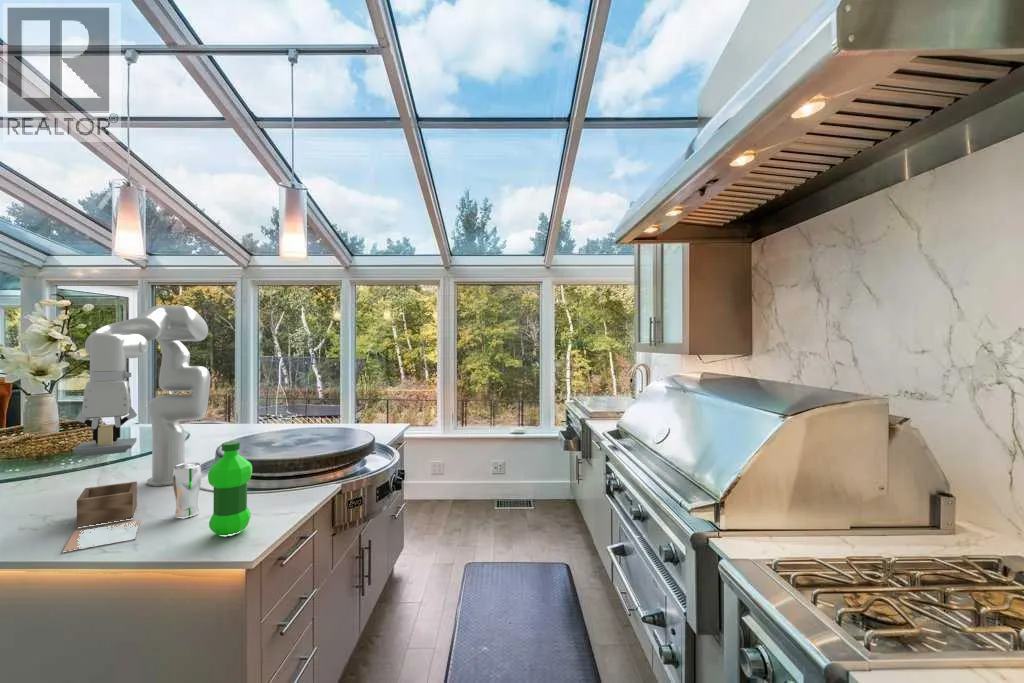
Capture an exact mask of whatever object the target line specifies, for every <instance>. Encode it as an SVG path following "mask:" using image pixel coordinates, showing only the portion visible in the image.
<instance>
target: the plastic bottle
mask: <svg viewBox="0 0 1024 683" xmlns="http://www.w3.org/2000/svg"><path fill="white" fill-rule="evenodd" d="M240 449H241V442H240V441H239V440H232V441H225V442H222V444H221V451H222V452H223V456H221V458H220V459H218V460H217V461H216V462H215V463H214V464H213V465H212V466H211V467H210V468H209V471H208V474H207V480H208V483H209V485H210V486H212V487H213V510H212V511H213V514H212V515H211V517H210V519H209V521H208V522H209V523H208V527H209V529H210V530H211V531H212V532H213V533H215V534H216V535H218V536H219V535H228V534H233V533H237V532H239V531H241V530H243V529H244V530H245V529H246V528H247V527H248V525H249V522H250V520H251V517H252V516H251V515H252V514H251V511H250V509H249V508H248V482H249V481H250V480H251V478H252V474H253V465H252V463H251V462H250V460H249V461H248V460H247V459H246V458H245V457H243V456H241V455H240V454H238V450H240ZM241 532H242V531H241Z"/></svg>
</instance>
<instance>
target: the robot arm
mask: <svg viewBox="0 0 1024 683" xmlns="http://www.w3.org/2000/svg"><path fill="white" fill-rule="evenodd" d="M208 333H209V327H208V324H207V322H206V320H205V319H204V318H203V317H202V315H200V314H199V313H198V312H197V311H196V310H195V309H193V308H192V307H190V306H187V305H166V304H163V305H162V304H159V305H154V306H151V307H150V308H149V309H147V310H145V311H144V312H142V313H141V314H139V315H138V316H137V317H134V318H128V319H126V320H121V321H116V322H113V323H110V324H107V325H102V326H101V327H99V328H98V329H96V330H94V331H92V332H91V334H89V336H87V338H86V340H85V342H84V349H85V351H86V353H87V354H88V355H89V382H88V381H87V382H86V384H85V388H84V392H83V399H82V408H81V410H80V411H79V413H78V414H77V415H76V417H75V419H74V420H75V421H77V422H79V423H82V424H85V425H87V426H89V428H91V429H92V441H96V443H98V428H99V427H100V426H101V425H100V420H101V419H102V418H114V424H115V425H114V428H113V441H114V442H116V441H117V439H121V426H123V425H124V424H125V423H127V422H128V421H130V420H131V419H134V418H136V417H137V415H138V414H137V413H136V411H135V410H134V407H132V397H131V388H130V382H129V380H126V379H127V378H132V372H127V371H126V359H136V358H141V357H143V356H144V355H145V354H146V353H147V352H148V350H149V343H148V342H150V341H151V342H152V341H154V340H156V341H157V343H158V345H159V347H160V349H161V356H162V357H161V364H160V369H159V375H158V386H159V389H161V391H164V392H192V394H163V395H158V396H155V397H153V398H152V399H151V401H150V402H149V405H148V412H149V417H150V423H151V431H152V433H151V435H152V436H151V441H152V442H151V446H152V447H151V453H152V457H151V460H152V461H151V472H152V473H151V477H150V478H148V479H147V480H146V485H147V484H148V486H150V485H153V486H152V487H164V486H165V487H166V486H173V472H174V467H175V466H177V465H180V464H185V463H186V462H185V458H186V457H185V451H186V450H185V447H186V446H185V445H186V444H185V443H186V441H185V440H186V439H185V437H186V432H185V429H184V428H183V426H182V424H180V423H179V422H181V421H184V422H185V421H186V422H187V421H200V420H202V419H204V418H205V416H207V415H206V414H207V412H208V406H209V397H210V391H211V390H210V388H211V374H210V371H209V369H208V368H207V367H205V366H200V365H192V366H191V365H190V360H191V353H190V351H189V349H188V348H187V347H186V345H184V344H183V342H200V341H204V340H205V339H206V338H207V336H208ZM122 417H123V418H122Z"/></svg>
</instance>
